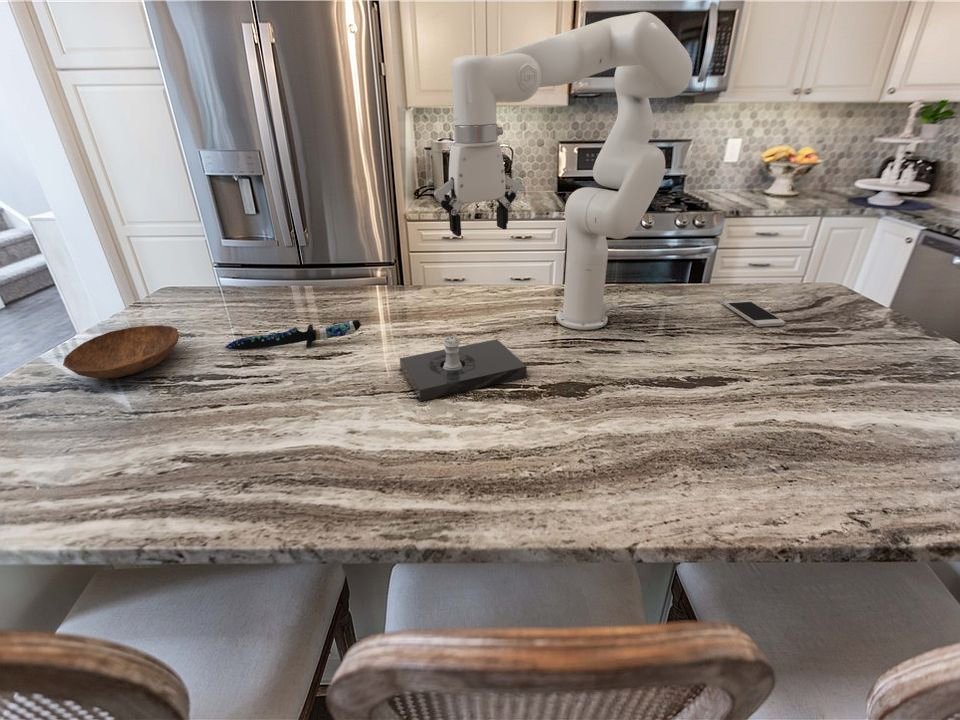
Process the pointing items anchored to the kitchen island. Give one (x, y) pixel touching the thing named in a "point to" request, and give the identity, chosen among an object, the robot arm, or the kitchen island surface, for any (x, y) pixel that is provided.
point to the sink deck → (462, 370)
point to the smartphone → (754, 313)
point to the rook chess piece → (452, 354)
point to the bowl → (122, 351)
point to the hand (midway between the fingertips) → (479, 231)
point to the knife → (295, 336)
